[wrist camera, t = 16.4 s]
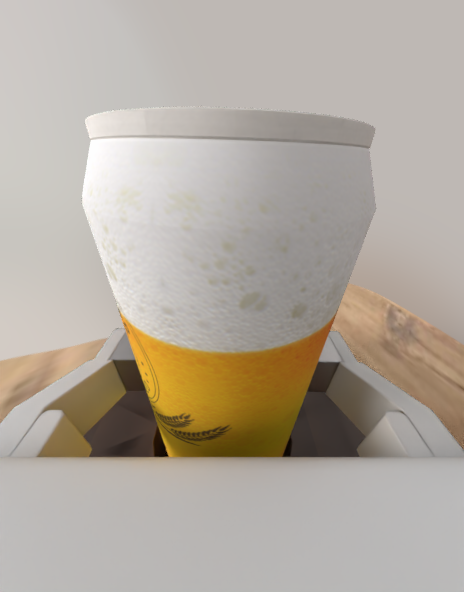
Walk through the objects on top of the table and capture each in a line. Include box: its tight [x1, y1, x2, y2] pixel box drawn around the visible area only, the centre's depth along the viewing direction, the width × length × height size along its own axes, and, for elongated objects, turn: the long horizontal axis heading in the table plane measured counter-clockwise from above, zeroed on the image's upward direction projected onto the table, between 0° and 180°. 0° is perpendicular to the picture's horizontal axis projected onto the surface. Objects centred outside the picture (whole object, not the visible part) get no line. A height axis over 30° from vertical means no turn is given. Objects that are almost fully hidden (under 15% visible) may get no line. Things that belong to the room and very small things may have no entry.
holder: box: [83, 391, 366, 457], centre depth 12 cm, size 16×16×3 cm
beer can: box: [82, 107, 376, 457], centre depth 9 cm, size 6×6×15 cm
